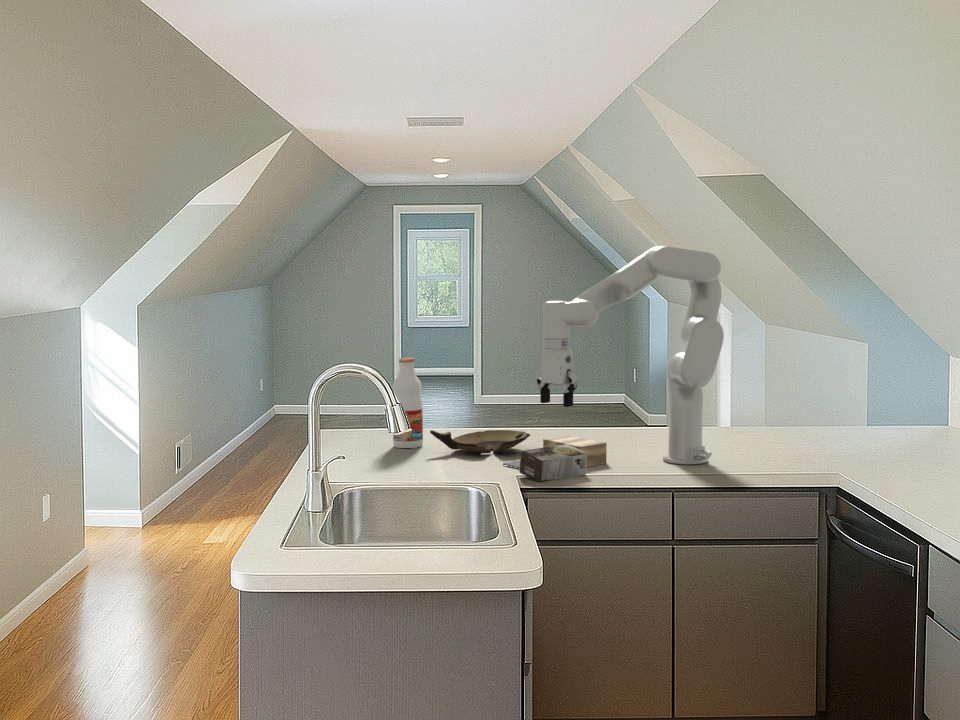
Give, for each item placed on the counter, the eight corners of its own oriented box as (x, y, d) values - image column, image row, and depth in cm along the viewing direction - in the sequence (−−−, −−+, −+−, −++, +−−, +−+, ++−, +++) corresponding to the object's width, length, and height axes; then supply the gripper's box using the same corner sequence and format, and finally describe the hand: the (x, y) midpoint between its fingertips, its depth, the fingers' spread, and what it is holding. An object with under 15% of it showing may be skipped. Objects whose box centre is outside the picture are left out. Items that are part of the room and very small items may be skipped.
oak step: (606, 463, 283) (606, 442, 283) (581, 467, 277) (581, 446, 277) (568, 455, 296) (568, 435, 295) (543, 459, 290) (543, 439, 289)
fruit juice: (397, 443, 317) (395, 356, 315) (425, 444, 316) (424, 357, 313) (389, 449, 308) (388, 359, 305) (419, 449, 307) (418, 360, 304)
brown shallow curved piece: (529, 458, 291) (528, 433, 290) (428, 458, 293) (427, 432, 293) (530, 445, 313) (530, 421, 313) (437, 444, 316) (436, 420, 315)
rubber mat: (582, 468, 276) (582, 466, 276) (544, 475, 268) (544, 473, 267) (539, 459, 290) (539, 457, 290) (502, 465, 282) (502, 463, 282)
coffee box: (565, 465, 276) (518, 472, 267) (567, 443, 274) (520, 449, 265) (585, 475, 268) (538, 483, 259) (588, 453, 267) (540, 460, 258)
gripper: (587, 345, 274) (587, 406, 276) (546, 342, 288) (546, 400, 290) (567, 347, 270) (567, 409, 271) (526, 343, 283) (526, 402, 285)
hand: (556, 404), depth 280 cm, fingers open, 9 cm apart
